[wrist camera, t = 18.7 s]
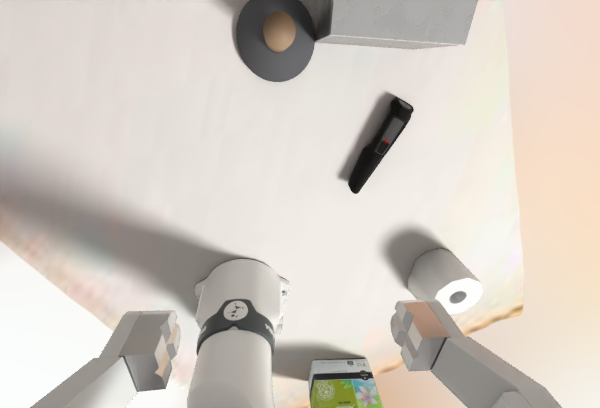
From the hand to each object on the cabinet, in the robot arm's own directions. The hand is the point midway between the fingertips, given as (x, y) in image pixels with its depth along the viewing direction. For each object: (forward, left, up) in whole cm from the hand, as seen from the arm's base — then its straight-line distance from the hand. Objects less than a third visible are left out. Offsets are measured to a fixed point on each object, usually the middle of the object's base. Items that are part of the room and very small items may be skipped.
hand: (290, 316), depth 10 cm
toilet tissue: (-29, -33, -34) cm, 56 cm away
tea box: (-63, -17, -34) cm, 74 cm away
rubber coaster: (+11, 0, -34) cm, 36 cm away
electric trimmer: (-3, -16, -35) cm, 38 cm away
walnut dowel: (+11, 0, -34) cm, 35 cm away
